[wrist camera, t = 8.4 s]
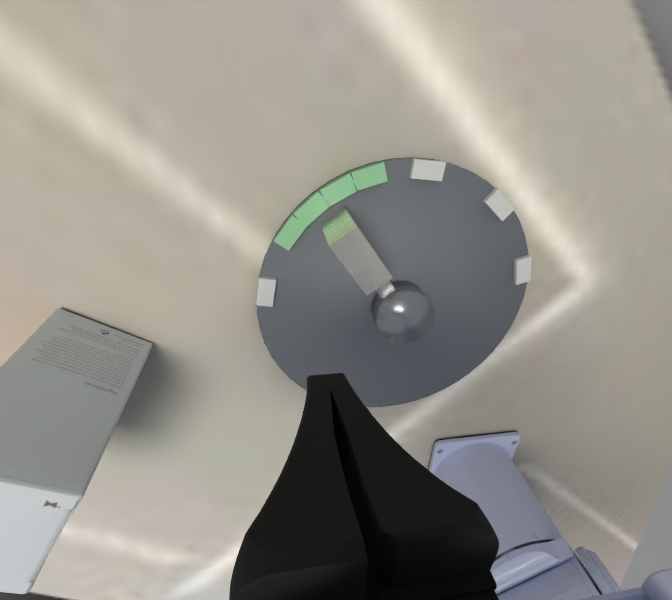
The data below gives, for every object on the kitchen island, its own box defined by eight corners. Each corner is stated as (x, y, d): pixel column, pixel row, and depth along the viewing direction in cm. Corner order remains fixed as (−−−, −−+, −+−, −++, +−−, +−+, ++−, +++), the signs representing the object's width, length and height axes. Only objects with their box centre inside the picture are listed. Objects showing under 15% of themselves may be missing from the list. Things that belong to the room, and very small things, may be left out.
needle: (433, 308, 25) (458, 341, 21) (388, 337, 25) (405, 374, 22) (358, 194, 20) (375, 213, 17) (305, 232, 21) (311, 258, 18)
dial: (489, 390, 30) (495, 398, 30) (266, 411, 28) (266, 420, 27) (558, 157, 22) (569, 159, 21) (243, 155, 19) (242, 158, 18)
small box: (60, 304, 21) (-96, 458, 12) (156, 342, 24) (84, 497, 14) (20, 397, 24) (-132, 582, 15) (111, 424, 26) (25, 599, 17)
